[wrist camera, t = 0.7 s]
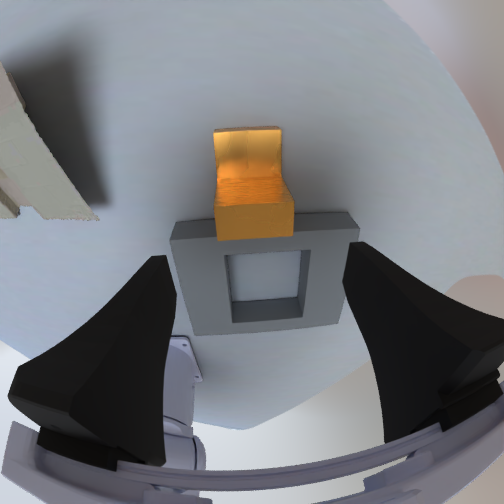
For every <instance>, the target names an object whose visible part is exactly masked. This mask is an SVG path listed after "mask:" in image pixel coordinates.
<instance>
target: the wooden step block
mask: <svg viewBox="0 0 504 504" xmlns="http://www.w3.org/2000/svg"><path fill="white" fill-rule="evenodd" d="M213 134H214V147H215V159H216V170H217V186H216V193H215V200H214V214H215V223H216V231H217V240H218V241H226V240H240V239H255V238H271V237H287V236H293V226H294V200H293V198H292V196H291V194H290V192H289V190H288V188H287V186H286V184H285V182H284V180H283V178H282V176H281V129H280V128H279V127H278V126H267V127H242V128H226V129H215V130H214V133H213Z"/></svg>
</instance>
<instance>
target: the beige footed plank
mask: <svg viewBox="0 0 504 504" xmlns="http://www.w3.org/2000/svg"><path fill="white" fill-rule="evenodd" d="M25 108H26V104H25V102H24V100H23V98H22V96H21V94H20V92H19V90H18V87H17V85H16V83H15V81H14V79H13V77H12V75H11V73H10V72H8V73H7V74H6V71H5V69H4V68H3V66H2V63H1V61H0V218H2V219H3V218H4V219H7V218H8V219H9V218H12V219H13V218H17V213H18V211H19V207H20V205H22V206H28V207H29V206H32V207H33V208H34V209H35V210H36V211H37V212H38V213H39V214H40V216H41V217H42V218H43V219H47V220H48V219H61V220H62V219H63V220H64V219H67V220H68V219H71V220H72V219H76V220H77V219H78V220H87V221H89V220H96V221H99V217H98V216H96V215H94V213H93V212H92V210H91V208H90V207H89V206H88V205H87V203H86V202H85V201H84V200H83V199H82V197H80V194H79V193H78V192H77V191H78V190H76V189H75V186H74V185H73V184H72V183H71V182H70V180H69V178H68V177H67V175H66V174H64V170H63V169H61V167H60V166H59V164H58V162H57V161H56V159H55V158H54V157H53V156H52V153H50V150H49V149H48V148H47V146H46V145H45V144H44V142H43V141H42V138H40V137H39V133H37V132H36V130H35V126H34V124H33V123H32V122H31V121H30V119H29V117H28V114H27V113H25V112H24V110H25Z"/></svg>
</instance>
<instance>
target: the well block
mask: <svg viewBox="0 0 504 504" xmlns="http://www.w3.org/2000/svg"><path fill="white" fill-rule="evenodd" d="M359 232H360V228H359V226H358V225H357V224H356V222H355V221H354V220H353V218H352V217H351V216H350V215H349V213H348V212H338V213H311V214H294V226H293V236H287V237H271V238H255V239H240V240H226V241H218V240H217V231H216V223H215V219H209V220H197V221H185V222H176V223H175V226H174V229H173V231H172V234H171V237H170V240H169V241H170V245H171V249H172V254H173V258H174V262H175V266H176V270H177V274H178V278H179V282H180V286H181V289H182V293H183V297H184V300H185V304H186V307H187V311H188V314H189V318H190V321H191V325H192V328H193V331H194V335H195V336H201V335H225V334H242V333H256V332H269V331H280V330H290V329H299V328H308V327H316V326H324V325H332V324H338V321H339V318H340V314H341V311H342V307H343V303H344V299H345V295H346V294H345V291H344V287H343V284H342V279H343V274H344V270H345V265H346V259H347V254H348V249H349V243H350V242H358V237H359ZM296 250H302V253H301V265H300V276H299V287H298V297H295V298H284V299H272V300H260V301H246V302H232V299H231V290H230V282H229V273H228V264H227V255H237V254H252V253H267V252H281V251H296Z"/></svg>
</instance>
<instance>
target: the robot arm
mask: <svg viewBox="0 0 504 504" xmlns="http://www.w3.org/2000/svg"><path fill="white" fill-rule="evenodd" d="M342 284H343V287H344V291H345V294H346V297H347V300H348V303H349V306H350V308H351V310H352V313H353V315H354V317H355V320H356V322H357V324H358V326H359V329H360V331H361V333H362V336H363V338H364V340H365V343H366V345H367V348H368V351H369V354H370V357H371V360H372V364H373V368H374V372H375V376H376V381H377V385H378V390H379V395H380V402H381V408H382V417H383V428H384V442H385V444H384V445H380V446H377V447H374V448H371V449H367V450H364V451H360V452H357V453H353V454H349V455H345V456H341V457H337V458H332V459H328V460H323V461H318V462H312V463H307V464H300V465H295V466H286V467H278V468H268V469H256V470H235V471H234V470H233V471H209V470H205V468H206V453H205V448H204V445H203V443H202V442H201V441H200V439H199V437H197V436H195V435H193V427H191V425H192V422H193V412H194V392H195V382H202V381H203V378H202V375H201V373H200V370H199V367H198V365H197V362H196V359H195V356H194V354H193V351H192V348H191V345H190V342H189V339H188V338H186V337H171V334H172V329H173V324H174V319H175V311H176V298H177V293H176V290H175V286H174V283H173V279H172V275H171V272H170V268H169V264H168V261H167V257H166V255H160V256H151V257H150V258H149V259H148V260H147V261H146V262H145V263H144V264H143V265H142V267H141V268H140V269H139V270H138V271H137V272H136V273H135V274H134V275H133V276H132V278H131V279H130V280H129V281H128V282H127V283H126V284H125V285H124V286H123V287H122V288H121V289H120V290H119V292H118V293H117V294H116V295H115V296H114V297H113V298H112V299H111V300H110V301H109V302H108V303H107V304H106V305H105V306H104V307H103V308H102V309H101V310H100V311H98V312H97V313H96V314H95V315H94V316H93V317H92V318H91V319H90V320H88V321H87V322H86V323H85V324H84V325H82V326H81V327H80V328H78V329H77V330H76V331H75V332H73V333H72V334H71V335H69V336H68V337H67V338H65V339H64V340H63V341H61V342H60V343H58V344H57V345H55V346H54V347H52V348H51V349H49V350H47V351H46V352H44V353H43V354H41V355H39V356H37V357H35V358H34V359H32V360H30V361H28V362H26V363H24V364H22V365H20V366H19V367H18V369H17V371H16V374H15V376H14V379H13V382H12V384H11V387H10V390H9V393H8V399H9V401H10V402H11V403H12V405H13V406H14V407H16V408H17V409H18V410H19V411H20V412H22V413H23V414H24V415H25V416H27V417H28V418H30V419H31V420H32V421H34V422H35V423H36V424H38V425H39V426H41V427H40V431H39V432H37V431H35V430H33V429H31V428H28V427H26V426H24V425H22V424H19V423H18V422H15V421H13V422H12V425H11V429H10V433H9V436H8V441H7V445H6V450H5V455H4V460H3V466H2V472H1V473H2V475H3V476H4V477H5V478H7V479H8V480H10V481H12V482H13V483H14V484H16V485H18V486H19V487H21V488H22V489H24V490H25V491H27V492H29V493H30V494H32V495H33V496H35V497H36V498H38V499H39V500H41V501H43V502H44V503H46V504H212V500H211V499H208V498H200V497H199V491H252V490H266V489H276V488H285V487H293V486H300V485H305V484H311V483H317V482H322V481H326V480H331V479H335V478H340V477H344V476H348V475H351V474H354V473H358V472H362V471H365V470H368V469H372V468H375V467H378V466H381V465H384V464H386V463H389V462H392V461H394V460H397V459H400V458H402V457H405V456H407V455H408V456H407V458H406V460H405V461H403V462H401V463H399V464H397V465H394V466H392V467H389V468H387V469H384V470H383V471H381V472H379V473H377V474H374V475H372V476H369V477H367V478H365V479H364V480H363V482H364V486H365V490H364V491H363V492H360V493H356V494H352V495H349V496H345V497H341V498H337V499H333V500H329V501H323V502H318V503H313V504H444V503H445V502H447V501H448V500H449V499H451V498H452V497H454V496H455V495H456V494H458V493H459V492H460V491H461V490H463V489H464V488H465V487H466V486H468V485H469V484H470V483H471V482H473V481H474V480H475V479H476V478H477V477H479V476H480V475H481V474H482V473H483V472H484V471H485V470H486V469H487V468H489V466H491V465H492V464H493V463H494V462H495V461H496V460H497V459H498V458H499V457H500V456H501V455H502V454H503V453H504V381H503V382H501V383H500V384H499V383H498V381H497V379H498V378H499V377H500V373H499V371H498V369H497V368H498V367H499V366H500V365H501V364H502V363H503V362H504V319H502V318H498V317H495V316H492V315H488V314H486V313H483V312H480V311H478V310H475V309H473V308H470V307H468V306H466V305H464V304H462V303H459V302H457V301H455V300H453V299H451V298H449V297H447V296H445V295H444V294H442V293H440V292H438V291H437V290H435V289H433V288H431V287H430V286H428V285H426V284H425V283H423V282H422V281H420V280H419V279H417V278H416V277H414V276H413V275H411V274H410V273H408V272H407V271H405V270H404V269H403V268H401V267H400V266H398V265H397V264H396V263H394V262H393V261H391V260H390V259H389V258H387V257H386V256H384V255H383V254H382V253H380V252H379V251H377V250H376V249H374V248H373V247H371V246H370V245H368V244H367V243H365V242H363V241H362V242H350V243H349V249H348V254H347V259H346V265H345V270H344V274H343V279H342Z"/></svg>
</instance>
